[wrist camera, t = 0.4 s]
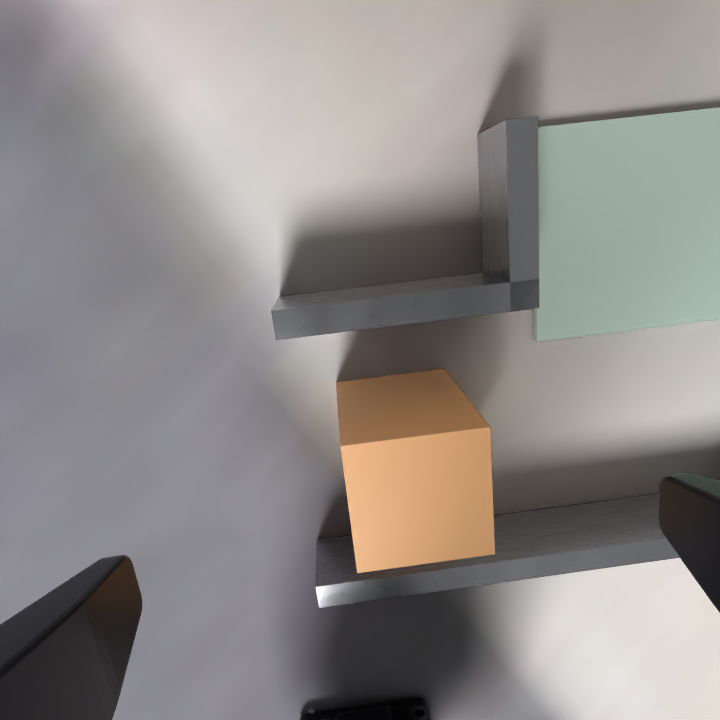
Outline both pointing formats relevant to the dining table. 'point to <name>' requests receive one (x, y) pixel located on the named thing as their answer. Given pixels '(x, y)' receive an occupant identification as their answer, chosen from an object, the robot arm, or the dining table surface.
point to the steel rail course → (464, 299)
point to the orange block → (415, 470)
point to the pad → (628, 224)
